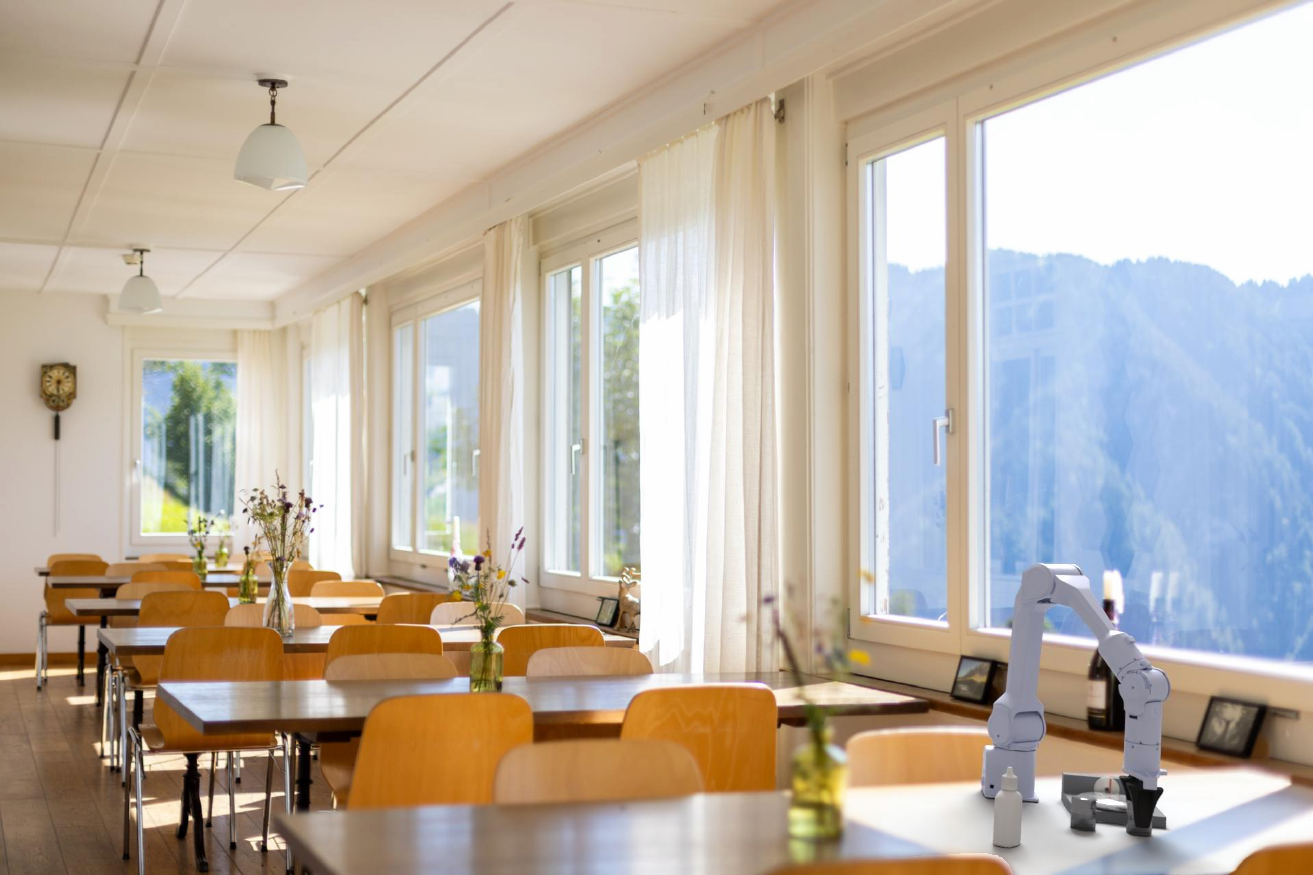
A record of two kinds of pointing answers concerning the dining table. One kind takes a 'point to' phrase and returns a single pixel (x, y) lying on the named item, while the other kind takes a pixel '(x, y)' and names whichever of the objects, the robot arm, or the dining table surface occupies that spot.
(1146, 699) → the robot arm
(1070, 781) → the scale
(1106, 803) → the pan
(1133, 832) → the cylinder
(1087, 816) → the cylinder
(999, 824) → the eye dropper bottle
